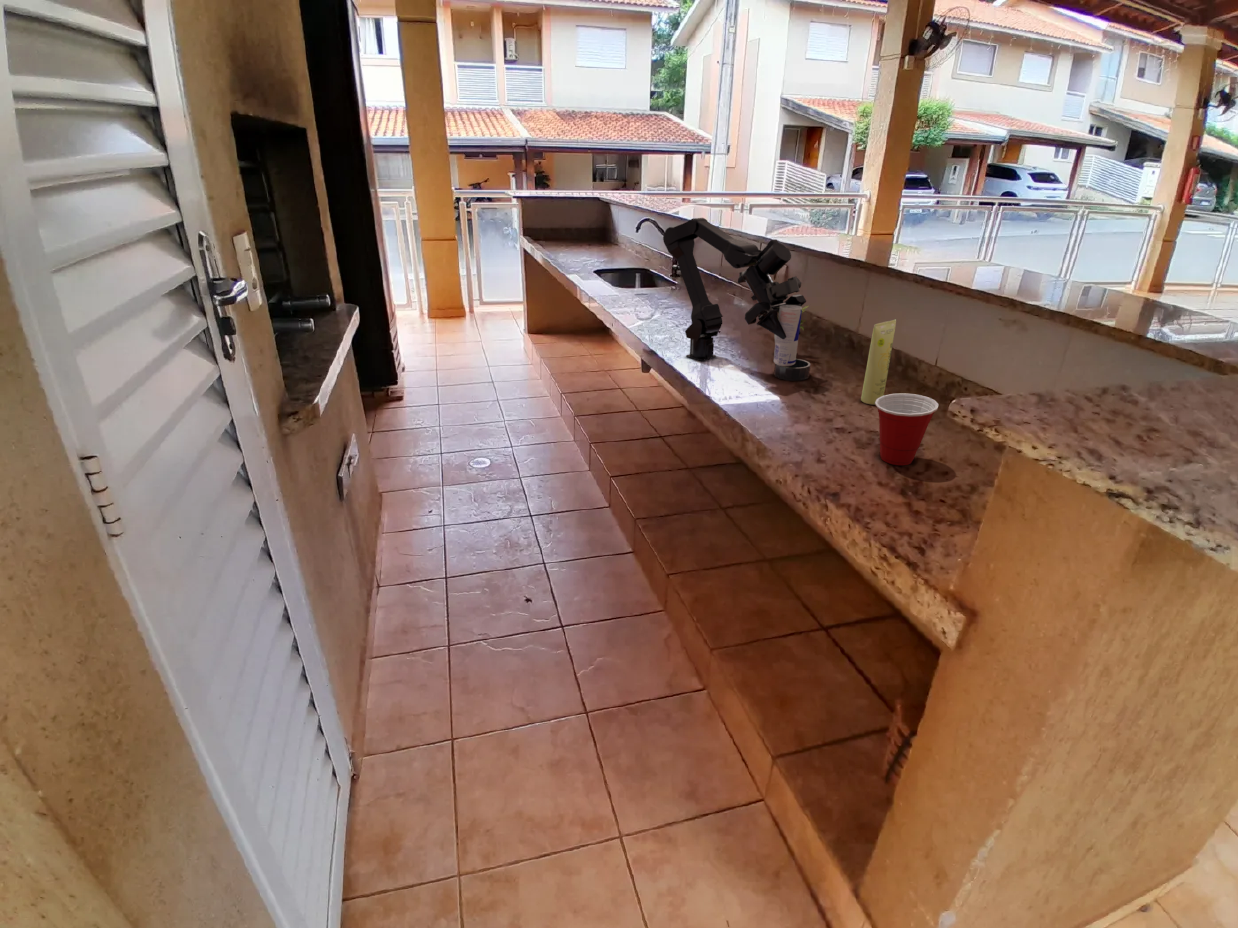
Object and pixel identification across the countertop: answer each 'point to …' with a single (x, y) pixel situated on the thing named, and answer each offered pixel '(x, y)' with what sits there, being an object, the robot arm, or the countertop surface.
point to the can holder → (793, 371)
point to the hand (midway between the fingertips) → (791, 336)
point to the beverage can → (788, 335)
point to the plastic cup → (903, 425)
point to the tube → (878, 361)
